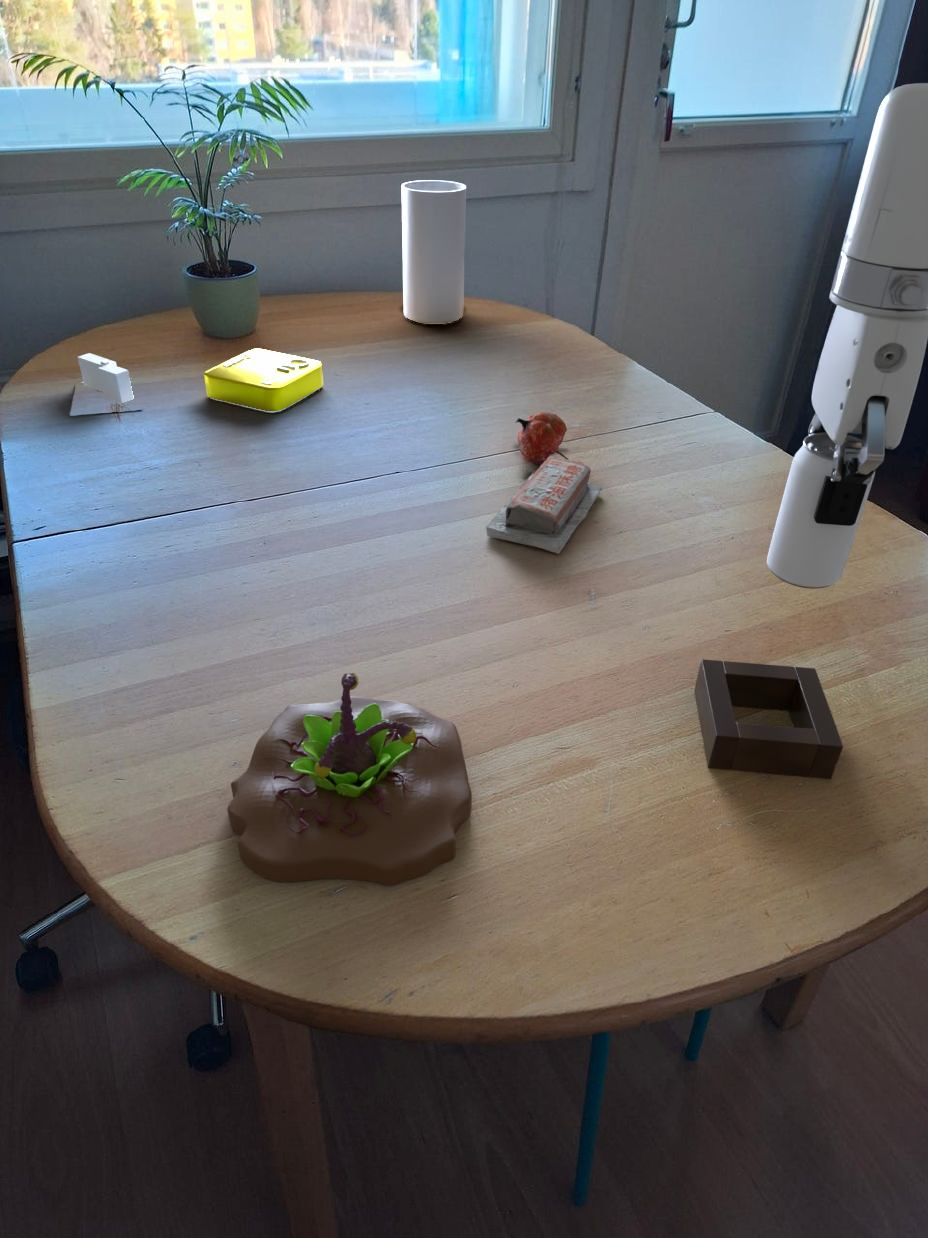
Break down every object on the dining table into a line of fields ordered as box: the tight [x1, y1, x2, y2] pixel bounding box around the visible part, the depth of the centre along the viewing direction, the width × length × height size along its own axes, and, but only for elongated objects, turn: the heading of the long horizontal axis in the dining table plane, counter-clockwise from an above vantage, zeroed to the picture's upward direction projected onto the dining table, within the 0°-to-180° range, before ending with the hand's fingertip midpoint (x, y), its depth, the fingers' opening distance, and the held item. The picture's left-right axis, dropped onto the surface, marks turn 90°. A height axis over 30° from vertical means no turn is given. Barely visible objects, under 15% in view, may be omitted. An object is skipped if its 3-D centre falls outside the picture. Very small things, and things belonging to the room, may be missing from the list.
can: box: [766, 433, 876, 590], centre depth 74 cm, size 6×6×12 cm
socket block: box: [694, 658, 844, 780], centre depth 81 cm, size 11×11×4 cm
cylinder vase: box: [401, 179, 467, 323], centre depth 176 cm, size 12×12×25 cm
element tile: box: [203, 348, 325, 411], centre depth 146 cm, size 15×15×5 cm
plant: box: [227, 672, 473, 886], centre depth 71 cm, size 20×20×11 cm
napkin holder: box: [77, 352, 134, 403], centre depth 142 cm, size 15×11×6 cm
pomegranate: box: [515, 411, 570, 465], centre depth 127 cm, size 7×7×10 cm
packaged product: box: [485, 456, 603, 555], centre depth 113 cm, size 18×5×10 cm
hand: (824, 500), depth 74 cm, fingers closed on can, 6 cm apart
